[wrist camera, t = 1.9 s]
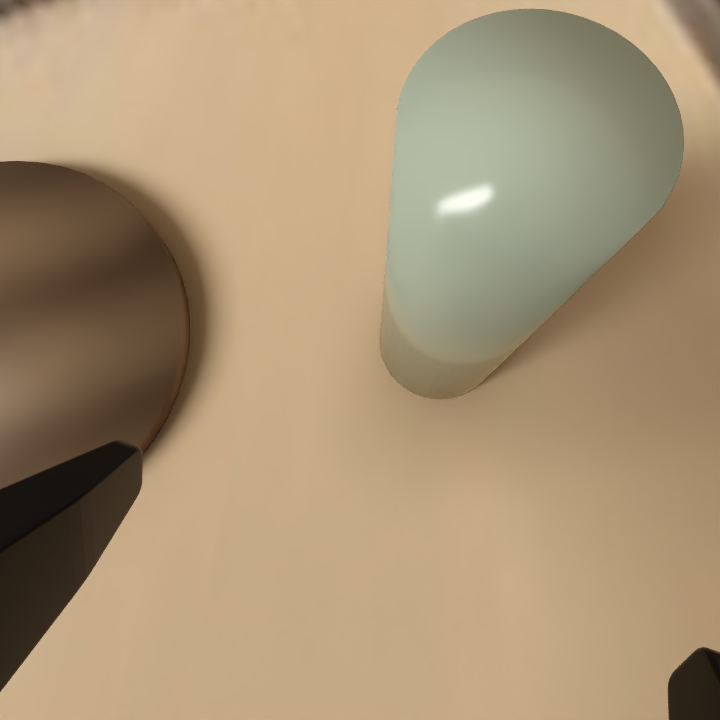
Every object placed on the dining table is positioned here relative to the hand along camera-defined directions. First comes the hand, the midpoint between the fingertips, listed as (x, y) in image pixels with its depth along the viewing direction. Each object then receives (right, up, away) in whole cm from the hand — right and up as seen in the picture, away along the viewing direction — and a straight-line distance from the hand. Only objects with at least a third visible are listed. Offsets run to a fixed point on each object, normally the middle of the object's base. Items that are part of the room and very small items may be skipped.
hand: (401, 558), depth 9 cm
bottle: (+3, +4, +15) cm, 15 cm away
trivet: (-16, +4, +15) cm, 22 cm away
